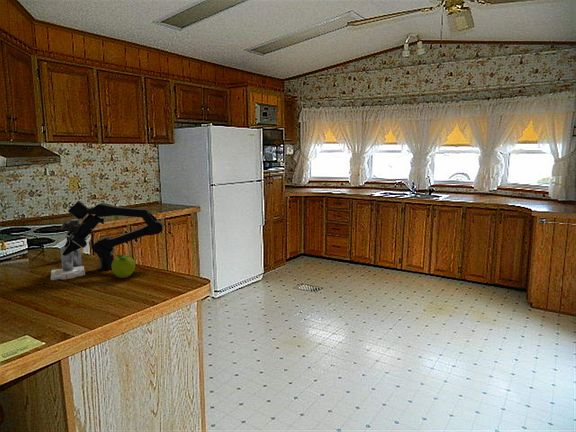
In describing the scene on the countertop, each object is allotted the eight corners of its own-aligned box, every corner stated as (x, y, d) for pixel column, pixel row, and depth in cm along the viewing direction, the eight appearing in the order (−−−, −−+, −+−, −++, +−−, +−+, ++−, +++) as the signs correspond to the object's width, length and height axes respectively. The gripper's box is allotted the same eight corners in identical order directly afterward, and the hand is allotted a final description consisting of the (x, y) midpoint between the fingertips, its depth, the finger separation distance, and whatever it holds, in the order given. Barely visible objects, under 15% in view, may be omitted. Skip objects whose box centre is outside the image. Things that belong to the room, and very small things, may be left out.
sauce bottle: (73, 259, 206) (69, 221, 203) (67, 257, 210) (63, 220, 207) (86, 256, 211) (82, 219, 208) (80, 255, 215) (76, 218, 212)
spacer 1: (75, 268, 181) (73, 246, 179) (66, 271, 177) (63, 248, 175) (70, 267, 183) (67, 245, 181) (60, 269, 179) (57, 248, 178)
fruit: (116, 281, 167) (114, 258, 166) (110, 276, 174) (108, 254, 173) (139, 277, 173) (137, 254, 172) (131, 272, 180) (129, 250, 179)
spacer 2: (83, 265, 194) (81, 245, 193) (74, 267, 191) (72, 246, 189) (78, 264, 197) (76, 244, 195) (69, 266, 193) (67, 246, 191)
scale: (83, 268, 189) (83, 263, 188) (85, 276, 176) (84, 271, 175) (51, 272, 183) (51, 267, 182) (50, 281, 169) (50, 276, 169)
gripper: (68, 213, 186) (44, 239, 181) (75, 217, 171) (48, 246, 166) (89, 227, 192) (65, 254, 187) (97, 233, 177) (71, 262, 172)
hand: (62, 253), depth 178 cm, fingers open, 5 cm apart
